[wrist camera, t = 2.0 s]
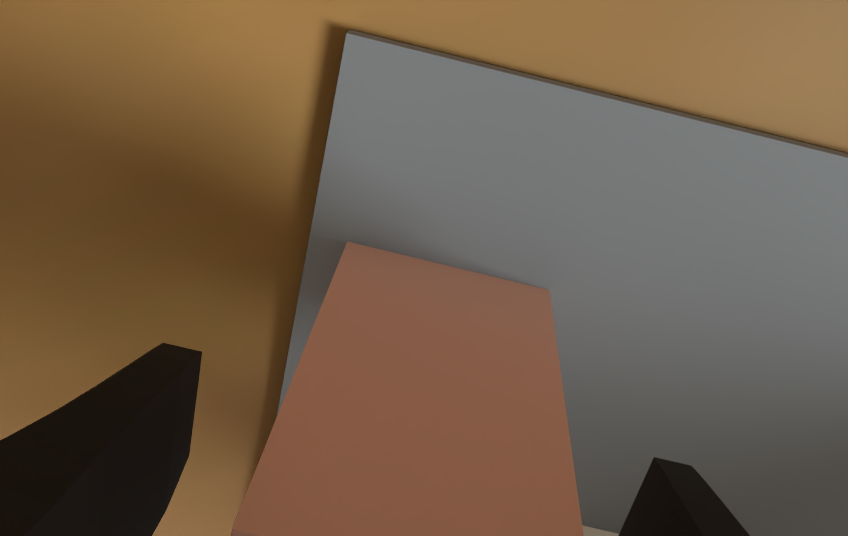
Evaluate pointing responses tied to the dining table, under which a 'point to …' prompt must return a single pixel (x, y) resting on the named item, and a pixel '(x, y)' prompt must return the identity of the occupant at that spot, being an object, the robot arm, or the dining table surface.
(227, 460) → the dining table surface
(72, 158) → the dining table surface
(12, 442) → the robot arm
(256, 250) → the dining table surface
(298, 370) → the tile
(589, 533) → the beige rectangular block
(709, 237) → the mat
